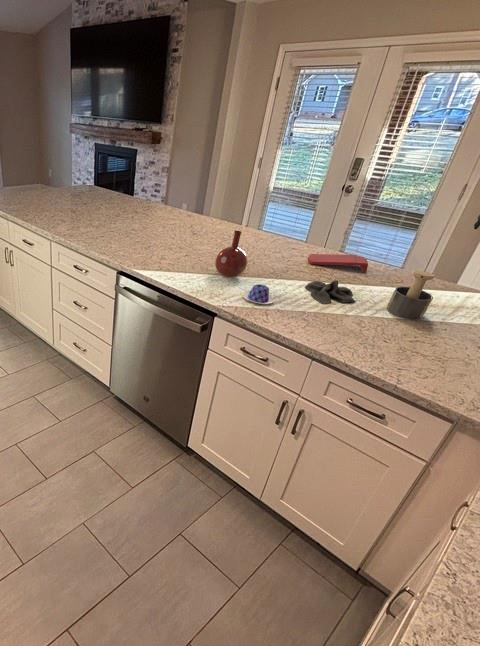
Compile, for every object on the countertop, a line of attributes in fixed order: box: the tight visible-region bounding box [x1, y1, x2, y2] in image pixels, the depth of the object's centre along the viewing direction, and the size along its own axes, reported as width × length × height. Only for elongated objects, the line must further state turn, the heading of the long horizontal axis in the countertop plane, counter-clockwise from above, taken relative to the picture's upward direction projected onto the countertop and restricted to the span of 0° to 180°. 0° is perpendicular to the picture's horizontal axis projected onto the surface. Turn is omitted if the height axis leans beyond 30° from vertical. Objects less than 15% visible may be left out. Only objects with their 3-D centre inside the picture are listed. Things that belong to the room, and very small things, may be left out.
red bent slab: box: [307, 253, 369, 273], centre depth 200 cm, size 12×5×25 cm
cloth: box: [304, 279, 356, 305], centre depth 169 cm, size 22×19×6 cm
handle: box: [406, 269, 435, 299], centre depth 155 cm, size 5×6×15 cm
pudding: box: [242, 283, 275, 305], centre depth 163 cm, size 12×12×5 cm
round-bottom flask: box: [214, 230, 248, 279], centre depth 177 cm, size 13×13×20 cm
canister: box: [385, 286, 434, 321], centre depth 157 cm, size 12×12×8 cm
